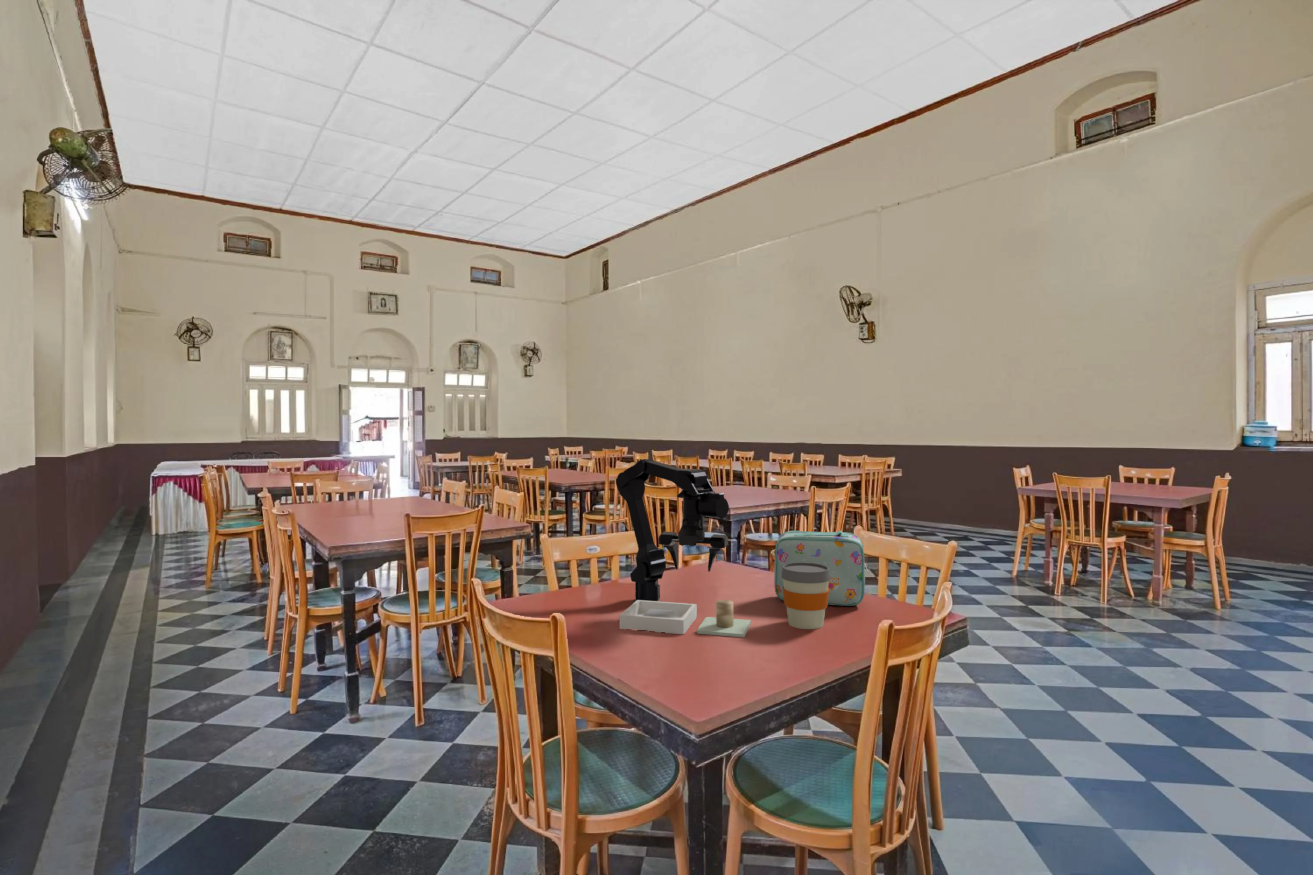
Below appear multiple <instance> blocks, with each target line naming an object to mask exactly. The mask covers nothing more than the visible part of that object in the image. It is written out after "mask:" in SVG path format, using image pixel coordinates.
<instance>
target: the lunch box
mask: <svg viewBox="0 0 1313 875" xmlns="http://www.w3.org/2000/svg"><path fill="white" fill-rule="evenodd" d="M864 550H865V549H864V545H863V541H862V539H861V538H860V537H859V536H858V535H857V534H854V533H851V532H847V531H846V532H845V531H844V532H843V530H837V531H829V532H828V531H827V532H826V531H805V530H788V531H785V532H783V533H781V534H780V535H779V537H778V539H777V541H776V544H775V549H774V579H773V580H774V592H775V595H776V596H777V597H778V598H779V599H780V600H782V601H784V596H783V586H784V584H783V578H782V577H781V576H782V566H783V565H785V564H788V563H796V562H807V563H817V564H822V565H825V566H828V567H829V570H830V580H829V584H828V589H829V597H828V605H827V606H829V605H830V606H842V607H843V606H846V607H849V606H852V607H853V606H858V605H859V604H860V603H861V602H863V599H864V596H865V586H866V584H865V582H866V581H865V580H866V572H869V570H868V567H867V564H866V563H865V551H864Z"/></svg>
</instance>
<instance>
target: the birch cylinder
mask: <svg viewBox="0 0 1313 875" xmlns="http://www.w3.org/2000/svg"><path fill="white" fill-rule="evenodd" d="M715 609H716V610H715V617H716V626H718V627H721V628H730V627H733V619H734V601H733V600H729V599H719V600H716V602H715Z"/></svg>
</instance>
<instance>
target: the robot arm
mask: <svg viewBox="0 0 1313 875" xmlns="http://www.w3.org/2000/svg"><path fill="white" fill-rule="evenodd" d="M650 476H652V477H657V478H659V479H662V480H666V481H669V482H671V483H674V485H675V486H676V487H678V488H679V489H681V491H680V492H679V493H678V494H677V495H676V497H677V498H679V499H683V500H682V502H683V503H682V520H681V521H682V523H681V526H680V529H679V530H678V533H677V532H676V531H664V532H662V533H660V534H659V535H658V545H659V546H660V545H661V546H662V545H663V546H662V547H663V548H664V549H667V550H668V552H669V554H670V556H671V558H672V562H673V565H674V568H675V570H679V566H680V565H679V563H680V562H679V561H680V560H679V546H682V547H683V546H690V547H695V546H697V544H704V545H706V544H707V545H710V546H711V547H709V549H708V552H709V554H708V564H707V572H711V570H712V567H713V564H714V561H715V558H716V557H717V554H718V552H720V551H721V550H723V549H725V548H726V547H727V546H728V545H729V539H728V536H727V535H726V534H720V533H719V534H714V533H713V535H711V536H706V534H705V528H704V526H705V525H704V522H705V517H706V518H713V519H725V518H726V517H727V515H728V513H729V511H730V510H729V508H730V506H729V501H728V500H727V499H726V498H725V493H724V492H719V493H718V492H715V489H714V488H713V486H712V484H711V482H710V480H709V479H708V476H707V474H706V471H704V470H703V469H697V468H680V467H676V466H672V465H670V464H667V463H663V462H660V461H657V460H655V459H654V460H653V459H652V458H646V459H640V460H638V461H636V462H635V464H632V465H631V466H630V467H628V468H626V469H625V470H623V472H619V473H618V474H617V476H616V478H615V484H616V488H617V490H618V491H617V492H618V493H619V495H620V496H621V497H622V498H623V500H624V501H625V502H626V504H627V509H628V512H629V513H628V514H629V516H630V521H631V524H632V528H633V532H634V537H635V540H636V545H637V548H638V549H637V552H636V555H635V556H636V557H635V561H636V566H635V568H634V569H633V570H632V571H631V573H630V574H629V577H630V580H631V582H632V583H633V582H634V583H635V584H634V585H635V599H634V600H633V603H634V602H635V601H637V600H645V601H659V600H660V598H661V584H659V580H661V579H662V578H663V576H664V572H665V570H666V569H667V564H666V562H667V559H666V557H665V551H664V549H663V548H659V547H657V545H656V544H655V541H654V537H653V533H652V530H651V525H650V522H649V517H648V514H647V510H646V506H645V502H644V498H643V497H644V494H645V491H646V482H647V481H648V480H649V479H650Z"/></svg>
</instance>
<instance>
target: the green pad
mask: <svg viewBox="0 0 1313 875" xmlns="http://www.w3.org/2000/svg"><path fill="white" fill-rule="evenodd" d="M751 623H752V620H751V619H741V618H740V619H739V618H733V627H730V628H721V627H718V626H716V616H706V617H705V618H704V620H703V621H702V622H701V624H700V625H699V627H698V628H697V629H696V634H700V635H711V636H721V637H722V636H723V637H733V638H734V637H735V638H745V637H746V634H747V632H748V631H749V628H750V626H751Z"/></svg>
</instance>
